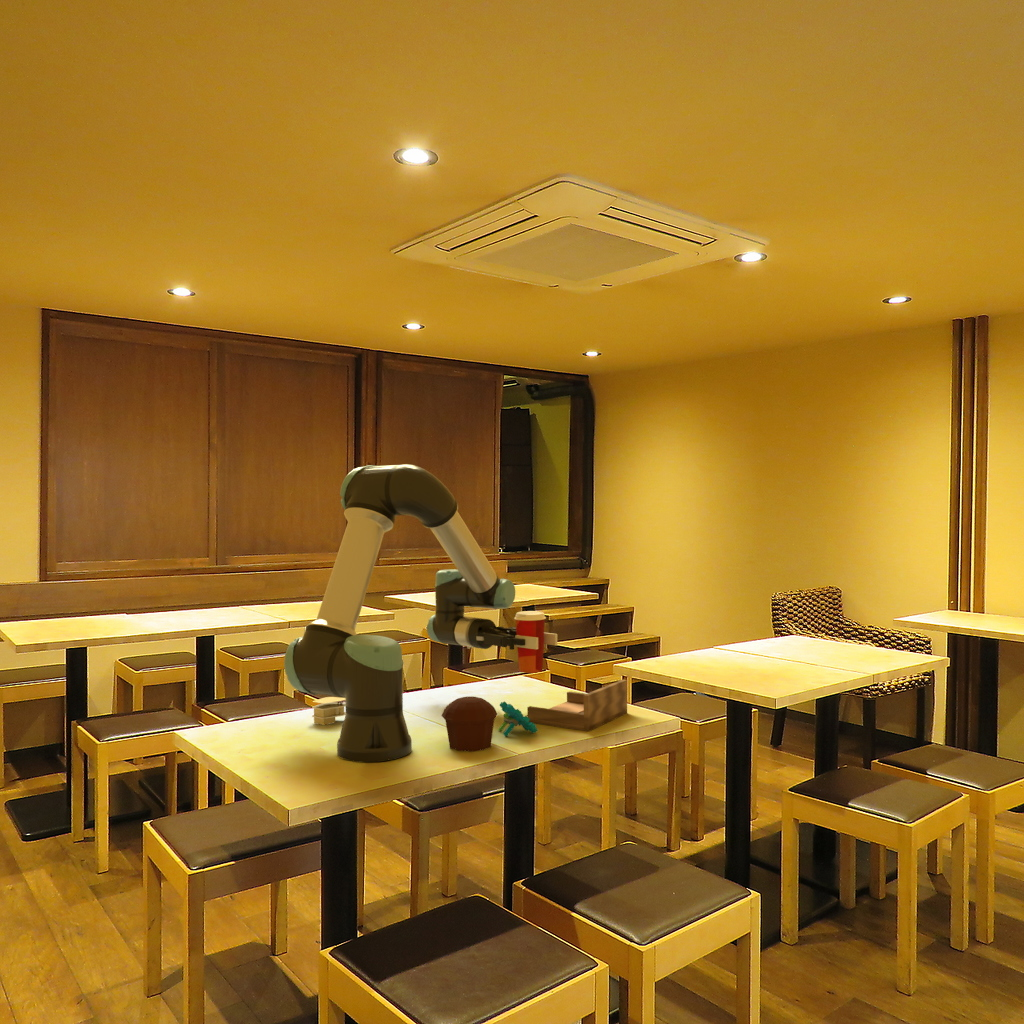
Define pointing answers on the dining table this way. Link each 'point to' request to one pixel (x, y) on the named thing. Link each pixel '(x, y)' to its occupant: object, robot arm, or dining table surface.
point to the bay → (584, 708)
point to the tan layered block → (328, 710)
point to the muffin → (469, 724)
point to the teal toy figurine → (515, 719)
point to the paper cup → (533, 627)
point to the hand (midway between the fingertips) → (546, 641)
